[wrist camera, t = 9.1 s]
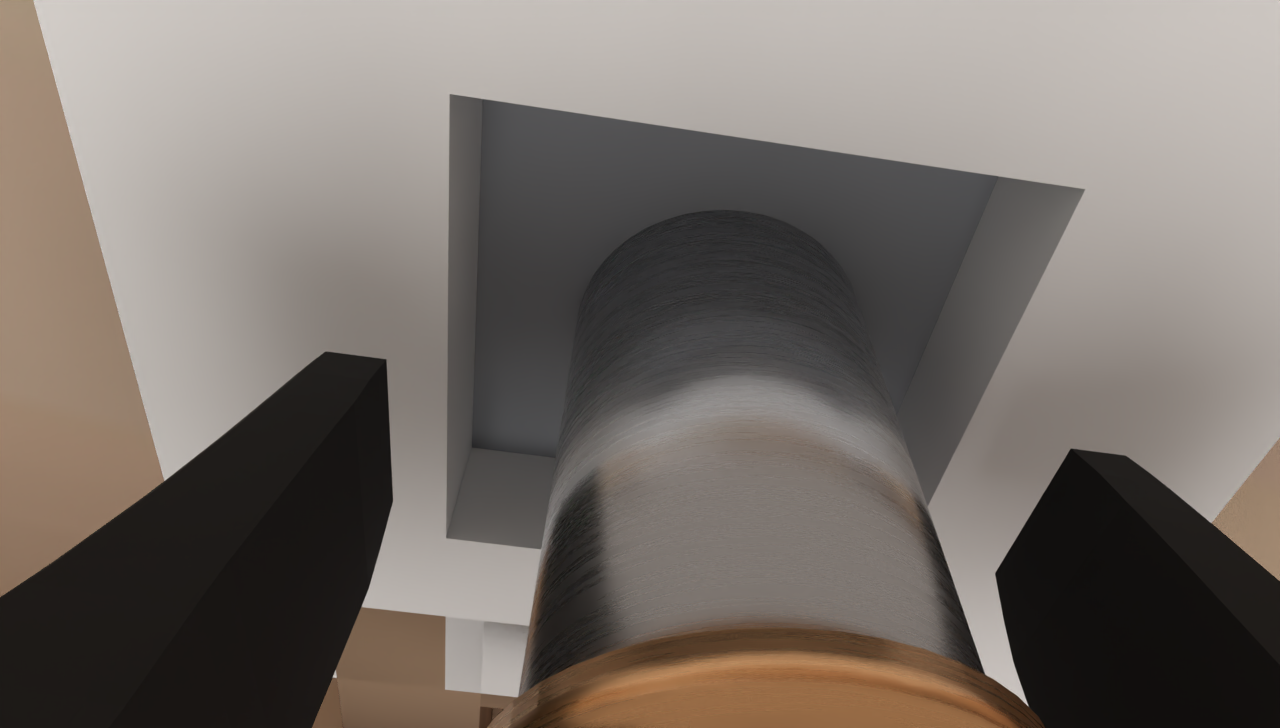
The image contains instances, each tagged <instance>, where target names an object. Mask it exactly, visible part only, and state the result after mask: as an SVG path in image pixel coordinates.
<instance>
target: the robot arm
mask: <svg viewBox="0 0 1280 728" xmlns="http://www.w3.org/2000/svg"><path fill="white" fill-rule="evenodd" d="M392 503H393V488H392V466H391V445H390V423H389V402H388V380H387V359H381V358H373V357H365V356H358V355H350V354H342V353H335V352H327V351H326V352H324V353H323V354H321V355H320V356H319V357H317V358H316V359H315V360H313V361H312V362H311V363H310V364H308V365H307V366H306V367H305V368H303V369H302V370H301V371H300V372H298V373H297V374H296V375H295V376H294V377H292V378H291V379H290V380H289V381H288V382H286V383H285V384H284V385H283V386H282V387H280V388H279V389H278V390H277V391H276V392H274V393H273V394H272V395H271V396H270V397H268V398H267V399H266V400H265V401H264V402H262V403H261V404H260V405H259V406H258V407H256V408H255V409H254V410H253V411H252V412H250V413H249V414H248V415H247V416H246V417H244V418H243V419H242V420H241V421H239V422H238V423H237V424H236V425H235V426H233V427H232V428H231V429H230V430H228V431H227V432H226V433H225V434H224V435H222V436H221V437H220V438H219V439H217V440H216V441H215V442H214V443H212V444H211V445H210V446H208V447H207V448H206V449H205V450H203V451H202V452H201V453H200V454H198V455H197V456H196V457H194V458H193V459H192V460H191V461H189V462H188V463H187V464H185V465H184V466H183V467H182V468H180V469H179V470H178V471H177V472H175V473H174V474H173V475H171V476H170V477H169V478H168V479H166V480H165V481H164V482H163V483H161V484H160V485H159V486H157V487H156V488H155V489H153V490H152V491H151V492H150V493H148V494H147V495H146V496H144V497H143V498H142V499H140V500H139V501H138V502H136V503H135V504H133V505H132V506H131V507H129V508H128V509H126V510H125V511H124V512H122V513H121V514H119V515H118V516H117V517H115V518H114V519H112V520H111V521H110V522H108V523H107V524H106V525H104V526H103V527H101V528H100V529H99V530H97V531H96V532H94V533H93V534H92V535H90V536H89V537H87V538H86V539H85V540H83V541H82V542H80V543H79V544H78V545H76V546H75V547H73V548H72V549H71V550H69V551H68V552H66V553H65V554H64V555H62V556H61V557H59V558H58V559H57V560H55V561H54V562H52V563H51V564H49V565H48V566H46V567H45V568H44V569H42V570H41V571H39V572H38V573H36V574H35V575H33V576H32V577H30V578H29V579H27V580H26V581H24V582H23V583H21V584H20V585H18V586H17V587H15V588H14V589H12V590H11V591H9V592H8V593H6V594H5V595H3V596H2V597H0V728H312V726H313V723H314V721H315V718H316V716H317V714H318V711H319V709H320V706H321V704H322V702H323V699H324V697H325V694H326V692H327V690H328V687H329V685H330V682H331V680H332V677H333V675H334V673H335V670H336V668H337V665H338V663H339V661H340V658H341V656H342V653H343V651H344V648H345V646H346V643H347V641H348V639H349V636H350V634H351V631H352V629H353V626H354V624H355V621H356V619H357V617H358V614H359V612H360V609H361V607H362V604H363V602H364V599H365V597H366V594H367V592H368V589H369V586H370V582H371V579H372V575H373V572H374V569H375V565H376V562H377V558H378V555H379V551H380V548H381V544H382V540H383V537H384V533H385V529H386V526H387V522H388V518H389V514H390V511H391V507H392ZM995 577H996V582H997V587H998V592H999V598H1000V603H1001V608H1002V614H1003V619H1004V624H1005V628H1006V632H1007V637H1008V641H1009V645H1010V650H1011V654H1012V658H1013V663H1014V666H1015V669H1016V672H1017V675H1018V678H1019V680H1020V683H1021V686H1022V689H1023V692H1024V695H1025V698H1026V701H1027V704H1028V706H1029V708H1030V709H1031V710H1032V711H1033V712H1034V713H1035V714H1036V715H1037V716H1038V717H1039V718H1040V720H1041V722H1042V723H1043V725H1044V726H1045V728H1280V581H1279V580H1277V579H1276V578H1275V577H1274V576H1273V575H1272V574H1270V573H1269V572H1268V571H1267V570H1266V569H1264V568H1263V567H1262V566H1261V565H1260V564H1259V563H1257V562H1256V561H1255V560H1254V559H1253V558H1252V557H1250V556H1249V555H1248V554H1247V553H1246V552H1244V551H1243V550H1242V549H1241V548H1240V547H1239V546H1237V545H1236V544H1235V543H1234V542H1233V541H1232V540H1230V539H1229V538H1228V537H1227V536H1226V535H1225V534H1223V533H1222V532H1221V531H1220V530H1219V529H1217V528H1216V527H1215V526H1214V525H1213V524H1212V523H1210V522H1209V521H1208V520H1207V519H1206V518H1204V517H1203V516H1202V515H1201V514H1200V513H1198V512H1197V511H1196V510H1195V509H1194V508H1192V507H1191V506H1190V505H1189V504H1188V503H1186V502H1185V501H1184V500H1183V499H1182V498H1180V497H1179V496H1178V495H1177V494H1176V493H1174V492H1173V491H1172V490H1171V489H1169V488H1168V487H1167V486H1166V485H1164V484H1163V483H1162V482H1161V481H1159V480H1158V479H1157V478H1155V477H1154V476H1153V475H1152V474H1150V473H1149V472H1148V471H1146V470H1145V469H1144V468H1142V467H1141V466H1140V465H1138V464H1137V463H1135V462H1134V461H1133V460H1131V459H1130V458H1129V457H1127V456H1125V455H1118V454H1110V453H1102V452H1095V451H1087V450H1079V449H1070V451H1069V452H1068V454H1067V456H1066V457H1065V459H1064V460H1063V462H1062V464H1061V465H1060V467H1059V469H1058V470H1057V472H1056V474H1055V475H1054V477H1053V479H1052V480H1051V482H1050V484H1049V485H1048V487H1047V488H1046V490H1045V492H1044V493H1043V495H1042V497H1041V498H1040V500H1039V502H1038V503H1037V505H1036V507H1035V508H1034V510H1033V512H1032V513H1031V515H1030V516H1029V518H1028V520H1027V521H1026V523H1025V525H1024V526H1023V528H1022V530H1021V531H1020V533H1019V535H1018V536H1017V538H1016V540H1015V541H1014V543H1013V544H1012V546H1011V548H1010V549H1009V551H1008V553H1007V554H1006V556H1005V558H1004V559H1003V561H1002V563H1001V564H1000V566H999V568H998V569H997V571H996V572H995Z"/></svg>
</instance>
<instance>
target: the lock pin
mask: <svg viewBox="0 0 1280 728" xmlns="http://www.w3.org/2000/svg"><path fill="white" fill-rule="evenodd" d="M487 728H1045V726H1044V725H1043V723H1042V722H1041V720H1040V718H1039V717H1038V716H1037V715H1036V714H1035V713H1034V712H1033V711H1032V710H1031V709H1030V708H1029V707H1028V706H1027V705H1026V704H1025V703H1024V702H1023V701H1022V700H1021V699H1020V698H1019V697H1018V696H1017V695H1015V694H1014V693H1012V692H1011V691H1010V690H1008V689H1007V688H1005V687H1004V686H1002V685H1001V684H1000V683H998V682H997V681H995V680H994V679H992V678H990V677H988V676H986V675H985V672H984V669H983V666H982V664H981V661H980V658H979V655H978V652H977V649H976V646H975V643H974V640H973V637H972V634H971V631H970V629H969V626H968V623H967V620H966V617H965V614H964V611H963V608H962V605H961V602H960V599H959V596H958V594H957V591H956V588H955V585H954V582H953V579H952V576H951V573H950V570H949V567H948V564H947V561H946V559H945V556H944V553H943V550H942V547H941V544H940V541H939V538H938V535H937V532H936V529H935V526H934V524H933V521H932V518H931V515H930V512H929V509H928V506H927V503H926V500H925V497H924V494H923V491H922V489H921V486H920V483H919V480H918V477H917V474H916V471H915V468H914V465H913V462H912V459H911V457H910V454H909V451H908V448H907V445H906V442H905V439H904V436H903V433H902V430H901V427H900V424H899V422H898V419H897V416H896V413H895V410H894V407H893V404H892V401H891V398H890V395H889V392H888V389H887V387H886V384H885V381H884V378H883V375H882V372H881V369H880V366H879V363H878V360H877V357H876V354H875V352H874V349H873V346H872V343H871V340H870V337H869V334H868V331H867V328H866V325H865V322H864V319H863V317H862V314H861V311H860V308H859V305H858V302H857V299H856V296H855V293H854V291H853V288H852V286H851V283H850V280H849V279H848V277H847V275H846V274H845V272H844V270H843V268H842V267H841V265H840V264H839V263H838V262H837V260H836V259H835V258H834V257H833V255H832V254H831V253H830V252H829V251H828V250H827V249H826V248H825V247H823V246H822V245H821V244H820V243H819V242H818V241H817V240H815V239H814V238H812V237H811V236H809V235H808V234H806V233H805V232H804V231H802V230H800V229H798V228H796V227H794V226H792V225H790V224H788V223H786V222H783V221H780V220H777V219H775V218H772V217H769V216H765V215H761V214H756V213H751V212H745V211H733V210H711V211H701V212H695V213H688V214H684V215H680V216H677V217H673V218H670V219H666V220H664V221H662V222H659V223H657V224H655V225H652V226H650V227H648V228H646V229H644V230H642V231H641V232H639V233H637V234H635V235H634V236H632V237H631V238H629V239H628V240H627V241H625V242H624V243H623V244H621V245H620V246H619V247H617V248H616V249H615V250H614V251H613V252H612V253H611V254H610V255H609V256H608V257H607V258H606V259H605V260H604V262H603V263H602V264H601V266H600V267H599V268H598V269H597V271H596V272H595V273H594V275H593V277H592V279H591V280H590V282H589V284H588V286H587V288H586V290H585V292H584V295H583V298H582V301H581V303H580V308H579V313H578V318H577V323H576V330H575V336H574V343H573V349H572V355H571V362H570V368H569V375H568V381H567V387H566V394H565V400H564V407H563V413H562V419H561V426H560V432H559V439H558V445H557V451H556V458H555V464H554V470H553V477H552V483H551V490H550V496H549V502H548V509H547V515H546V522H545V528H544V534H543V541H542V547H541V554H540V560H539V566H538V573H537V579H536V586H535V592H534V598H533V605H532V611H531V618H530V624H529V630H528V637H527V643H526V649H525V656H524V662H523V669H522V675H521V681H520V688H519V694H518V698H516V699H515V700H513V701H512V702H511V703H510V704H509V705H508V706H507V707H506V708H505V709H504V710H503V711H502V712H501V713H499V714H498V715H497V716H496V717H495V718H494V719H493V720H492V722H491V723H490V724H489V726H488V727H487Z"/></svg>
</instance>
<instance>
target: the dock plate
mask: <svg viewBox="0 0 1280 728" xmlns="http://www.w3.org/2000/svg"><path fill="white" fill-rule="evenodd" d="M33 1H34V4H35V8H36V12H37V15H38V19H39V23H40V26H41V30H42V34H43V37H44V41H45V45H46V48H47V52H48V56H49V59H50V63H51V67H52V70H53V74H54V78H55V81H56V85H57V89H58V92H59V96H60V100H61V103H62V107H63V111H64V114H65V118H66V122H67V125H68V129H69V133H70V136H71V140H72V144H73V147H74V151H75V155H76V158H77V162H78V166H79V170H80V173H81V177H82V181H83V184H84V188H85V192H86V195H87V199H88V203H89V206H90V210H91V214H92V217H93V221H94V225H95V228H96V232H97V236H98V239H99V243H100V247H101V250H102V254H103V258H104V261H105V265H106V269H107V272H108V276H109V280H110V283H111V287H112V291H113V294H114V298H115V302H116V305H117V309H118V313H119V316H120V320H121V324H122V327H123V331H124V335H125V338H126V342H127V346H128V349H129V353H130V357H131V360H132V364H133V368H134V371H135V375H136V379H137V382H138V386H139V390H140V393H141V397H142V401H143V404H144V408H145V412H146V415H147V419H148V423H149V426H150V430H151V434H152V437H153V441H154V445H155V448H156V452H157V456H158V459H159V463H160V467H161V470H162V474H163V478H164V481H165V480H166V479H168V478H169V477H170V476H171V475H173V474H174V473H175V472H177V471H178V470H179V469H180V468H182V467H183V466H184V465H185V464H187V463H188V462H189V461H191V460H192V459H193V458H194V457H196V456H197V455H198V454H200V453H201V452H202V451H203V450H205V449H206V448H207V447H208V446H210V445H211V444H212V443H214V442H215V441H216V440H217V439H219V438H220V437H221V436H222V435H224V434H225V433H226V432H227V431H228V430H230V429H231V428H232V427H233V426H235V425H236V424H237V423H238V422H239V421H241V420H242V419H243V418H244V417H246V416H247V415H248V414H249V413H250V412H252V411H253V410H254V409H255V408H256V407H258V406H259V405H260V404H261V403H262V402H264V401H265V400H266V399H267V398H268V397H270V396H271V395H272V394H273V393H274V392H276V391H277V390H278V389H279V388H280V387H282V386H283V385H284V384H285V383H286V382H288V381H289V380H290V379H291V378H292V377H294V376H295V375H296V374H297V373H298V372H300V371H301V370H302V369H303V368H305V367H306V366H307V365H308V364H310V363H311V362H312V361H313V360H315V359H316V358H317V357H319V356H320V355H321V354H323V353H324V352H326V351H327V352H335V353H342V354H350V355H358V356H365V357H373V358H381V359H387V380H388V402H389V423H390V445H391V466H392V488H393V503H392V507H391V511H390V514H389V518H388V522H387V526H386V529H385V533H384V537H383V540H382V544H381V548H380V551H379V555H378V558H377V562H376V565H375V569H374V572H373V575H372V579H371V582H370V586H369V589H368V592H367V594H366V597H365V599H364V602H363V604H362V607H365V608H374V609H383V610H392V611H401V612H410V613H419V614H428V615H436V616H445V617H447V618H446V633H445V690H454V691H463V692H473V693H482V694H491V695H501V696H510V697H518V694H519V688H520V681H521V675H522V669H523V662H524V656H525V649H526V643H527V637H528V629H529V624H530V618H531V611H532V605H533V598H534V592H535V586H536V579H537V573H538V566H539V560H540V554H541V547H542V541H543V534H544V528H545V522H546V515H547V509H548V502H549V496H550V490H551V483H552V477H553V470H554V464H555V458H556V451H557V445H558V439H559V432H560V426H561V419H562V413H563V407H564V400H565V394H566V387H567V381H568V375H569V368H570V362H571V355H572V349H573V343H574V336H575V330H576V323H577V318H578V313H579V308H580V303H581V301H582V298H583V295H584V292H585V290H586V288H587V286H588V284H589V282H590V280H591V279H592V277H593V275H594V273H595V272H596V271H597V269H598V268H599V267H600V266H601V264H602V263H603V262H604V260H605V259H606V258H607V257H608V256H609V255H610V254H611V253H612V252H613V251H614V250H615V249H616V248H617V247H619V246H620V245H621V244H623V243H624V242H625V241H627V240H628V239H629V238H631V237H632V236H634V235H635V234H637V233H639V232H641V231H642V230H644V229H646V228H648V227H650V226H652V225H655V224H657V223H659V222H662V221H664V220H666V219H670V218H673V217H677V216H680V215H684V214H688V213H695V212H701V211H711V210H733V211H745V212H751V213H756V214H761V215H765V216H769V217H772V218H775V219H777V220H780V221H783V222H786V223H788V224H790V225H792V226H794V227H796V228H798V229H800V230H802V231H804V232H805V233H806V234H808V235H809V236H811V237H812V238H814V239H815V240H817V241H818V242H819V243H820V244H821V245H822V246H823V247H825V248H826V249H827V250H828V251H829V252H830V253H831V254H832V255H833V257H834V258H835V259H836V260H837V262H838V263H839V264H840V265H841V267H842V268H843V270H844V272H845V274H846V275H847V277H848V279H849V280H850V283H851V286H852V288H853V291H854V293H855V296H856V299H857V302H858V305H859V308H860V311H861V314H862V317H863V319H864V322H865V325H866V328H867V331H868V334H869V337H870V340H871V343H872V346H873V349H874V352H875V354H876V357H877V360H878V363H879V366H880V369H881V372H882V375H883V378H884V381H885V384H886V387H887V389H888V392H889V395H890V398H891V401H892V404H893V407H894V410H895V413H896V416H897V419H898V422H899V424H900V427H901V430H902V433H903V436H904V439H905V442H906V445H907V448H908V451H909V454H910V457H911V459H912V462H913V465H914V468H915V471H916V474H917V477H918V480H919V483H920V486H921V489H922V491H923V494H924V497H925V500H926V503H927V506H928V509H929V512H930V515H931V518H932V521H933V524H934V526H935V529H936V532H937V535H938V538H939V541H940V544H941V547H942V550H943V553H944V556H945V559H946V561H947V564H948V567H949V570H950V573H951V576H952V579H953V582H954V585H955V588H956V591H957V594H958V596H959V599H960V602H961V605H962V608H963V611H964V614H965V617H966V620H967V623H968V626H969V629H970V631H971V634H972V637H973V640H974V643H975V646H976V649H977V652H978V655H979V658H980V661H981V664H982V666H983V669H984V672H985V675H986V676H988V677H990V678H992V679H994V680H995V681H997V682H998V683H1000V684H1001V685H1002V686H1004V687H1005V688H1007V689H1008V690H1010V691H1011V692H1012V693H1014V694H1015V695H1017V696H1018V697H1019V698H1020V699H1021V700H1022V701H1023V702H1024V703H1025V704H1026V705H1027V706H1028V704H1027V701H1026V698H1025V695H1024V692H1023V689H1022V686H1021V683H1020V680H1019V678H1018V675H1017V672H1016V669H1015V666H1014V663H1013V658H1012V654H1011V650H1010V645H1009V641H1008V637H1007V632H1006V628H1005V624H1004V619H1003V614H1002V608H1001V603H1000V598H999V592H998V587H997V582H996V577H995V572H996V571H997V569H998V568H999V566H1000V564H1001V563H1002V561H1003V559H1004V558H1005V556H1006V554H1007V553H1008V551H1009V549H1010V548H1011V546H1012V544H1013V543H1014V541H1015V540H1016V538H1017V536H1018V535H1019V533H1020V531H1021V530H1022V528H1023V526H1024V525H1025V523H1026V521H1027V520H1028V518H1029V516H1030V515H1031V513H1032V512H1033V510H1034V508H1035V507H1036V505H1037V503H1038V502H1039V500H1040V498H1041V497H1042V495H1043V493H1044V492H1045V490H1046V488H1047V487H1048V485H1049V484H1050V482H1051V480H1052V479H1053V477H1054V475H1055V474H1056V472H1057V470H1058V469H1059V467H1060V465H1061V464H1062V462H1063V460H1064V459H1065V457H1066V456H1067V454H1068V452H1069V451H1070V449H1079V450H1087V451H1095V452H1102V453H1110V454H1118V455H1125V456H1127V457H1129V458H1130V459H1131V460H1133V461H1134V462H1135V463H1137V464H1138V465H1140V466H1141V467H1142V468H1144V469H1145V470H1146V471H1148V472H1149V473H1150V474H1152V475H1153V476H1154V477H1155V478H1157V479H1158V480H1159V481H1161V482H1162V483H1163V484H1164V485H1166V486H1167V487H1168V488H1169V489H1171V490H1172V491H1173V492H1174V493H1176V494H1177V495H1178V496H1179V497H1180V498H1182V499H1183V500H1184V501H1185V502H1186V503H1188V504H1189V505H1190V506H1191V507H1192V508H1194V509H1195V510H1196V511H1197V512H1198V513H1200V514H1201V515H1202V516H1203V517H1204V518H1206V519H1207V520H1208V521H1209V522H1210V523H1212V522H1213V520H1214V519H1215V518H1216V517H1217V515H1218V514H1219V513H1220V512H1221V510H1222V509H1223V508H1224V507H1225V505H1226V504H1227V503H1228V502H1229V500H1230V499H1231V498H1232V497H1233V495H1234V494H1235V493H1236V492H1237V490H1238V489H1239V488H1240V487H1241V485H1242V484H1243V483H1244V482H1245V480H1246V479H1247V478H1248V477H1249V475H1250V474H1251V473H1252V472H1253V470H1254V469H1255V468H1256V467H1257V465H1258V464H1259V463H1260V462H1261V460H1262V459H1263V458H1264V457H1265V455H1266V454H1267V453H1268V452H1269V450H1270V449H1271V448H1272V447H1273V445H1274V444H1275V443H1276V442H1277V440H1278V439H1279V438H1280V0H33ZM366 615H367V614H366ZM384 617H385V616H384ZM455 618H456V619H455ZM487 621H488V622H487ZM489 621H490V622H491V623H493V624H492V626H490V625H491V623H490V622H489ZM450 622H451V623H450ZM484 622H485V623H484ZM494 622H496V623H494ZM497 622H498V623H497ZM448 623H449V624H448ZM489 623H490V624H489ZM499 623H500V626H501V625H502V624H503V623H504V624H503V625H504V626H503V625H502V626H501V627H503V628H504V629H505V630H504V629H503V628H501V627H499V626H498V624H499ZM506 623H508V624H506ZM484 624H485V625H484ZM487 624H488V626H489V627H491V629H492V630H493V631H491V629H490V628H489V627H488V626H487ZM494 624H495V625H496V627H495V626H493V625H494ZM505 624H506V625H505ZM510 624H511V625H510ZM513 624H514V625H513ZM515 624H517V625H515ZM512 625H513V626H512ZM520 625H521V626H520ZM523 625H525V626H528V627H526V628H528V629H526V628H525V627H524V626H523ZM484 626H485V627H488V628H489V629H490V630H489V629H488V628H485V627H484ZM505 626H507V629H506V628H505ZM508 626H510V627H511V626H512V627H511V628H510V627H508ZM514 626H516V627H514ZM517 626H518V627H517ZM497 627H498V628H497ZM513 627H514V628H515V629H514V630H513ZM522 627H523V628H522ZM484 628H485V629H484ZM495 628H496V629H495ZM500 628H501V629H500ZM516 628H517V630H516ZM519 628H522V629H523V630H527V631H523V630H521V629H520V630H521V631H520V632H519V630H518V629H519ZM482 629H483V630H482ZM487 629H488V630H489V631H488V630H487ZM494 629H495V630H494ZM498 629H499V630H498ZM501 630H502V632H501ZM503 630H504V631H503ZM506 630H507V631H506ZM509 630H511V632H510V633H511V636H510V633H509ZM486 631H487V632H486ZM494 631H495V632H494ZM515 631H516V632H517V631H518V632H519V633H518V632H517V633H518V635H516V634H517V633H515ZM522 631H523V632H526V633H524V634H525V635H524V634H523V633H522ZM447 632H448V633H447ZM463 632H464V633H463ZM492 632H493V634H492ZM507 632H508V633H507ZM481 633H482V634H481ZM487 633H488V634H489V635H488V636H487ZM494 633H495V634H494ZM512 633H513V634H514V635H513V634H512ZM521 633H522V634H521ZM451 634H452V635H451ZM497 634H498V635H497ZM503 634H504V635H505V637H504V635H503ZM506 634H507V635H506ZM493 635H494V636H493ZM512 635H513V636H512ZM515 635H516V637H514V636H515ZM455 636H456V637H455ZM490 636H491V637H490ZM506 636H507V637H508V638H506ZM517 636H518V637H517ZM524 636H526V637H524ZM485 637H486V638H485ZM492 637H493V638H492ZM496 637H497V638H496ZM498 637H499V638H498ZM511 637H512V638H511ZM520 637H521V638H520ZM505 638H506V639H505ZM517 638H518V639H517ZM524 638H526V639H525V640H526V641H525V640H524ZM489 639H490V641H489ZM492 639H494V640H492ZM498 639H499V640H498ZM521 639H522V640H521ZM351 640H352V639H351ZM478 640H479V641H478ZM505 640H506V641H505ZM515 640H516V641H515ZM477 641H478V642H477ZM481 641H482V642H481ZM493 641H496V642H497V643H496V642H493ZM504 641H505V642H504ZM510 641H511V642H510ZM523 641H524V642H523ZM484 642H485V643H484ZM490 642H491V643H490ZM499 642H500V643H499ZM514 642H515V643H514ZM350 643H351V642H350ZM495 643H496V644H495ZM501 643H502V644H501ZM361 644H362V643H361ZM492 644H493V645H492ZM508 644H510V645H508ZM519 644H520V645H519ZM522 644H523V646H522ZM491 645H492V646H491ZM505 645H506V646H505ZM513 645H514V646H515V647H514V646H513ZM524 645H525V646H524ZM496 646H497V647H496ZM504 646H505V647H504ZM507 646H508V647H507ZM520 646H521V648H520ZM500 647H501V648H502V649H501V648H500ZM509 647H510V648H509ZM483 648H484V649H483ZM514 648H515V649H514ZM345 649H346V648H345ZM487 649H489V650H490V651H489V650H488V651H487ZM498 649H499V650H498ZM519 649H520V650H519ZM395 650H396V649H395ZM511 650H512V651H511ZM504 652H505V653H504ZM510 652H511V653H510ZM518 653H519V654H518ZM364 656H365V655H364ZM495 657H496V658H495ZM519 657H520V658H519ZM459 659H460V660H459ZM472 659H473V660H472ZM520 661H521V662H520ZM500 662H501V663H500ZM514 662H515V663H514ZM519 662H520V663H519ZM492 666H493V667H492ZM511 666H512V667H511ZM332 678H337V676H336V670H335V673H334V675H333V677H332ZM389 678H390V677H389ZM464 678H465V679H464ZM371 679H372V678H371ZM1028 707H1029V706H1028Z"/></svg>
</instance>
